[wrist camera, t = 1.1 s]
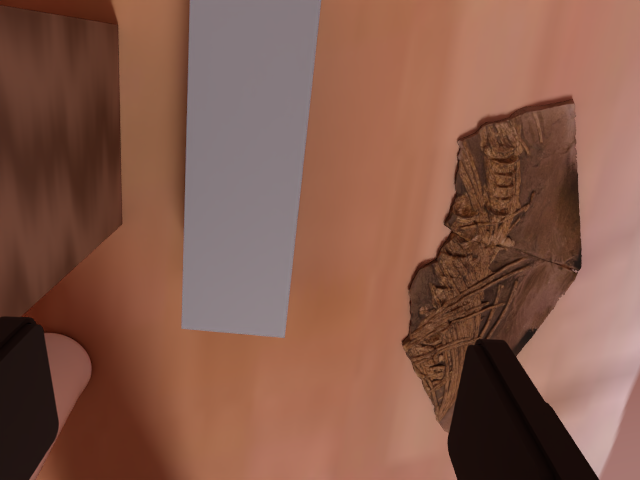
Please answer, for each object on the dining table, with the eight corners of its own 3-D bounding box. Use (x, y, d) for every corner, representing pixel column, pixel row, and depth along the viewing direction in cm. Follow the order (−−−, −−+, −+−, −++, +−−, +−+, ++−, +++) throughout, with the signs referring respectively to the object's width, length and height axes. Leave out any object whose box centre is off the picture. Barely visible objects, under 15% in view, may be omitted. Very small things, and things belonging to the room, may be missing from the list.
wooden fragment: (478, 75, 30) (484, 76, 29) (642, 118, 31) (653, 120, 30) (365, 414, 38) (366, 423, 37) (496, 437, 40) (501, 447, 39)
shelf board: (286, 316, 31) (284, 337, 29) (190, 308, 31) (181, 328, 29) (324, -37, 25) (325, -47, 22) (202, -54, 24) (191, -65, 22)
